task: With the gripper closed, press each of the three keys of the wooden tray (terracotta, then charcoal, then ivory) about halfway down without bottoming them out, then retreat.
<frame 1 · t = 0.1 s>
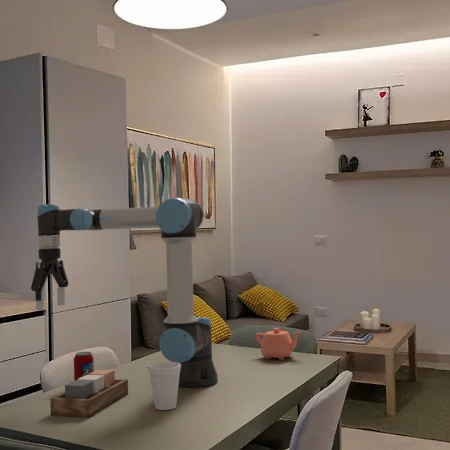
hand: (51, 307, 219), 28 cm above the table, fingers open, 13 cm apart
charcoal key: (79, 389, 186), point 6 cm above the table, slide at 0.0 cm
teapot: (279, 358, 255), on the table
ivory key: (91, 383, 193), point 6 cm above the table, slide at 0.0 cm
cup: (165, 408, 187), on the table
wooden tray: (91, 404, 193), on the table
beverage can: (84, 388, 215), on the table
terracotta key: (102, 377, 201), point 6 cm above the table, slide at 0.0 cm
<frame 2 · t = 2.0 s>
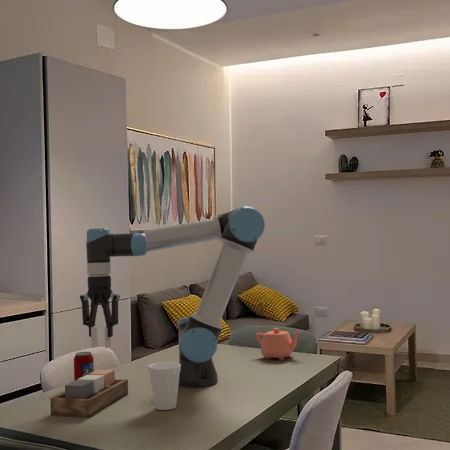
hand: (101, 346, 201), 17 cm above the table, fingers open, 4 cm apart
nothing on the table moved.
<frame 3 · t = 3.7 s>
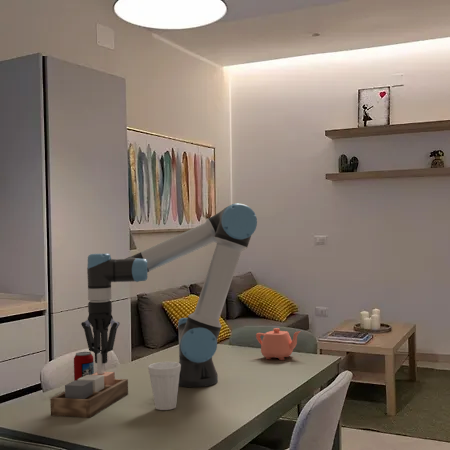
hand: (101, 373, 201), 8 cm above the table, fingers closed
terracotta key: (102, 380, 201), point 6 cm above the table, slide at 0.7 cm, touching gripper
everything else where it was.
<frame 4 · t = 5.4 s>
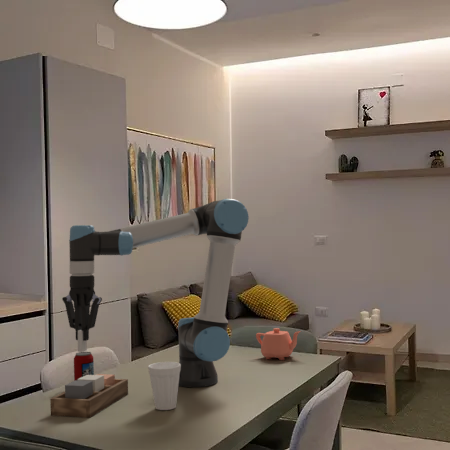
hand: (82, 350, 191), 17 cm above the table, fingers closed
terracotta key: (102, 382, 201), point 5 cm above the table, slide at 1.5 cm
everything else where it was.
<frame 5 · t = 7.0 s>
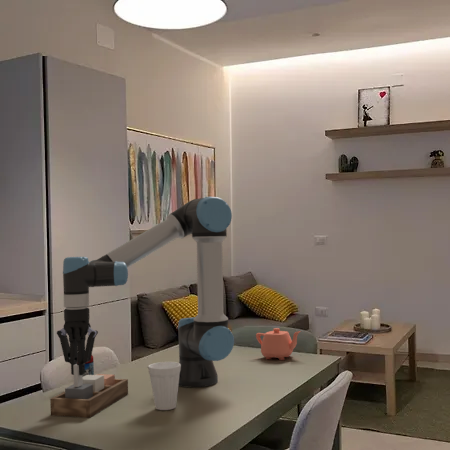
hand: (78, 385, 186), 8 cm above the table, fingers closed
charcoal key: (79, 393, 186), point 6 cm above the table, slide at 1.0 cm, touching gripper
everything else where it was.
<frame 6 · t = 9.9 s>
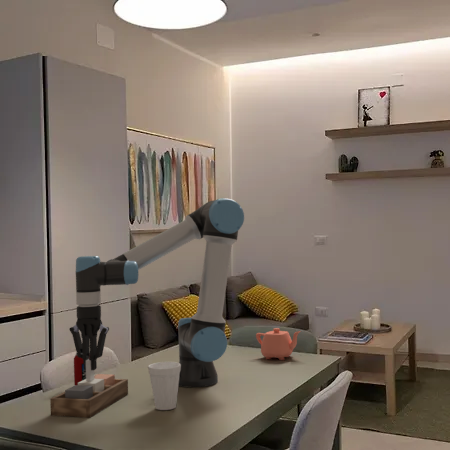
hand: (90, 380, 193), 8 cm above the table, fingers closed
charcoal key: (79, 394, 186), point 5 cm above the table, slide at 1.5 cm
ivory key: (91, 387, 193), point 5 cm above the table, slide at 1.2 cm, touching gripper
everything else where it was.
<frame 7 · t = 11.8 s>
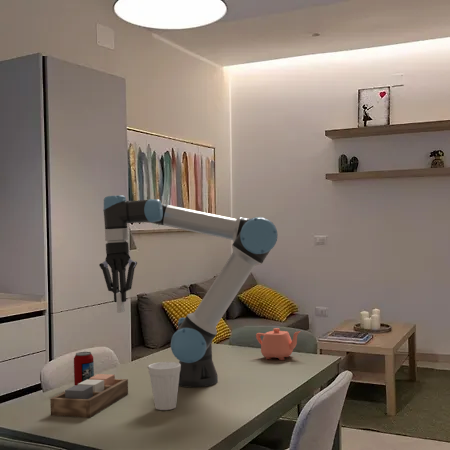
hand: (120, 311, 206), 27 cm above the table, fingers closed
ivory key: (91, 388, 193), point 5 cm above the table, slide at 1.5 cm
everything else where it was.
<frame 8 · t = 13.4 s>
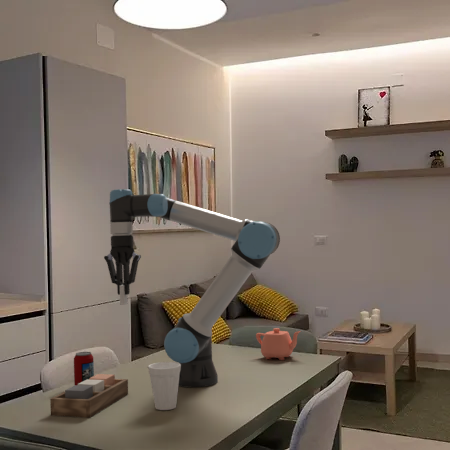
hand: (123, 304, 209), 29 cm above the table, fingers closed
nothing on the table moved.
at the end: terracotta key slide at 1.5 cm; charcoal key slide at 1.5 cm; ivory key slide at 1.5 cm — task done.
